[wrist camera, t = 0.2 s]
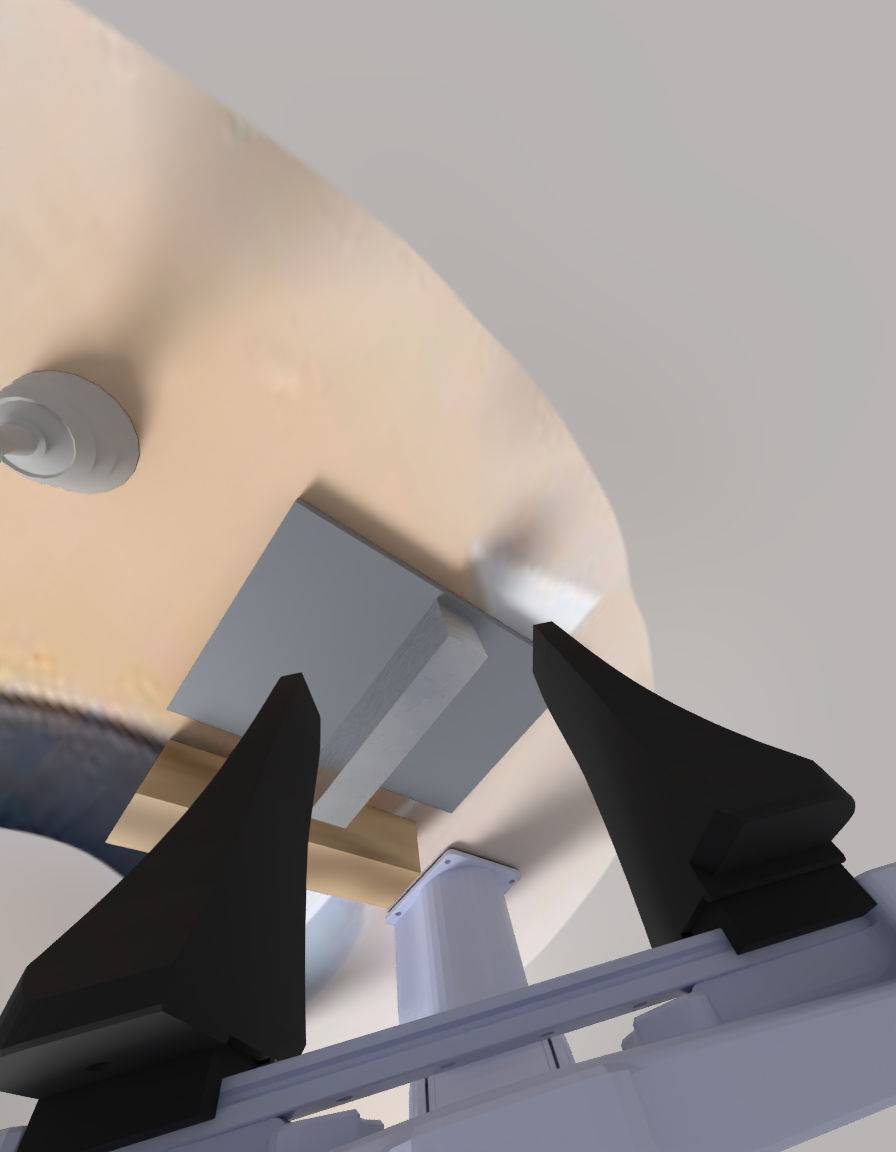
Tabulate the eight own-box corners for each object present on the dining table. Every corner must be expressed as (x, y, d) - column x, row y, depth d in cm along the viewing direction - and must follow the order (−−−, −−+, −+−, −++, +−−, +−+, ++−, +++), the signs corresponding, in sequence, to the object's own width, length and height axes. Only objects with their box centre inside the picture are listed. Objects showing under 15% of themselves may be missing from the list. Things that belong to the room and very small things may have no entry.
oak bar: (386, 851, 31) (388, 908, 28) (144, 779, 25) (105, 842, 21) (415, 818, 30) (420, 873, 27) (171, 735, 24) (136, 793, 20)
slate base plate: (448, 800, 30) (451, 813, 29) (174, 697, 23) (166, 709, 22) (570, 665, 27) (577, 674, 26) (298, 497, 20) (294, 501, 19)
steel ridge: (349, 769, 26) (345, 828, 22) (315, 757, 25) (305, 816, 21) (469, 618, 23) (488, 657, 19) (436, 598, 22) (449, 635, 18)
